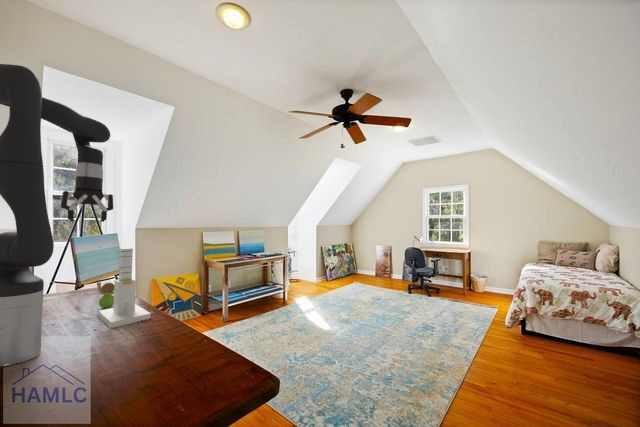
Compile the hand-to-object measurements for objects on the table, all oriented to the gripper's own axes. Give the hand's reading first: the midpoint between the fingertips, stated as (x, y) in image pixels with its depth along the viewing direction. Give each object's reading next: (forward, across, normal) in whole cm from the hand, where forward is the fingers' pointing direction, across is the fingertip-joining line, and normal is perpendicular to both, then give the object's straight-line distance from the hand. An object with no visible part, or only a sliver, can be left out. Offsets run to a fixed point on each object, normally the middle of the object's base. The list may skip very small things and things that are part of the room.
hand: (87, 221), depth 98 cm
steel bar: (+27, +11, -5) cm, 30 cm away
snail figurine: (+36, +9, +14) cm, 40 cm away
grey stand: (+36, +11, -5) cm, 38 cm away
